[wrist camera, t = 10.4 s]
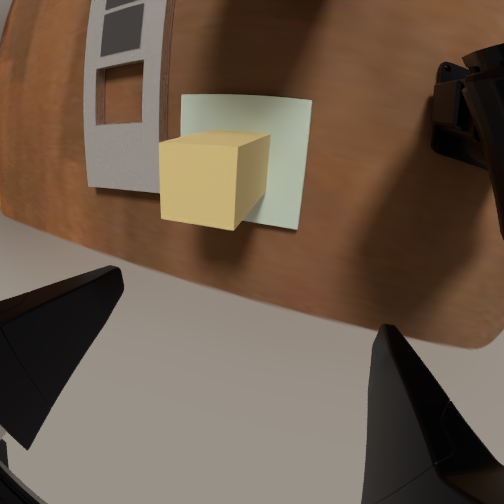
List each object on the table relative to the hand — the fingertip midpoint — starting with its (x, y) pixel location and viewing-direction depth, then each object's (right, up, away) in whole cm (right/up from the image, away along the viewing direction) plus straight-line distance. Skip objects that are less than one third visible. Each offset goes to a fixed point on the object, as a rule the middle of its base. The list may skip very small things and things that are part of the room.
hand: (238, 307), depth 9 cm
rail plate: (-10, +16, +10) cm, 21 cm away
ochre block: (0, +8, +10) cm, 13 cm away
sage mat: (0, +8, +11) cm, 14 cm away
